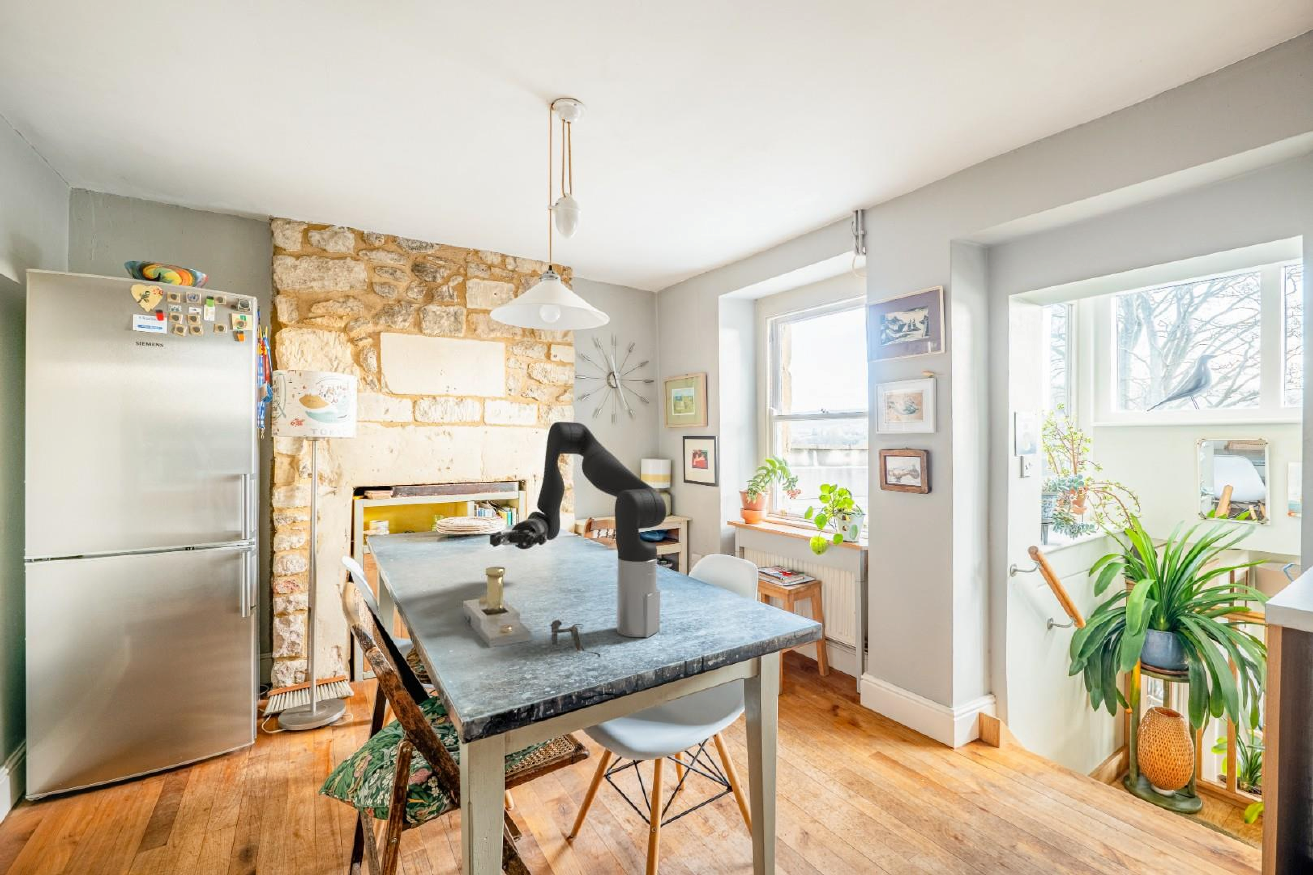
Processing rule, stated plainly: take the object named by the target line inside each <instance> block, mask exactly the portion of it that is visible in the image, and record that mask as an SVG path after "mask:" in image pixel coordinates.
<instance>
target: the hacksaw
mask: <svg viewBox="0 0 1313 875" xmlns="http://www.w3.org/2000/svg"><path fill="white" fill-rule="evenodd" d="M551 624H552V627H553V629H552V633H551V636H552V637H551V646H555V645H558V633H566V632H571V633H572V638H573V643H574V647H575V649H576V652H575V651H574V652H567V653H565V654H567V655H569V654H581V653H580V652H579V653H578V651H582V652H584V651H586V650H585V649H584V648H583V647H584V646H581V644H580V638H579V628H578V627H577V626H580V625H581V626H582V627H581V629H583V628H584V626H585V625H583V624H582V623H574V624H573V625H572V626H570V627H567V628H561V629H560V625H561V626H562V625H563V623H562V621H561V620H560V619H557V620H553V621H552V623H551ZM587 653H590V654H594V655H598V657H596V658H595V660H597V659H598V658H600V657H601V653H598V652H592V651H587Z"/></svg>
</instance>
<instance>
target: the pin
mask: <svg viewBox="0 0 1313 875" xmlns="http://www.w3.org/2000/svg"><path fill="white" fill-rule="evenodd" d="M505 574H506V568H505V566H490V567H485V576H486V577H487V582H486V585H487V588H486V597H487V616H488V615H495V614H501V613H503V600H504V575H505Z"/></svg>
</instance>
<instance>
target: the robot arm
mask: <svg viewBox="0 0 1313 875" xmlns="http://www.w3.org/2000/svg"><path fill="white" fill-rule="evenodd" d="M546 441H547V442H546V449H545V459H544V468H543V477H542V478H543V479H542V482H541V483H542V485H541V488H540V491H539V494H538V495H539V496H538V498H537V499H538V500H537V503H536V506H537V509H538V510H539V511H532V512H531V513H530V514H529V515H528V517H527V519H525V520H523V521H520V522H518V523H516V524H515V525H514V526H513V527H512V528H511V531H503V532H502V531H497V532H495V533H491V534H489V545H491V546H492V547H493V548H494V547H495V548H496V547H499V546H500V545H503V546H511V545H512V546H515V547H516V548H517V549H520V550H528V549H531V548H533V546H537V544H538V545H540V546H542V545H544V544H546V542H547V541H553V540H554V539H555V538H557V537H558V536H559V534H560V529H561V517H560V516H561V514H560V513H561V505H562V501H563V498H564V495H565V481H564V478H563V476H562V473H561V470H560V469H559V468H560V467H559V459H560V456H561V455H563V454H564V455H579V456H581V457H583V458H582V461H581V470H582V473H583V475H584V477H585V478H586V479H587V480H588V482H590V483H591V484H592V485H593V487H594V488H596V489H597V490H599V491H601V492H603V493H605V494H608V495H609V496H613V497H615V498H616V499H615V503H614V524H615V525H614V526H615V545H616V550H617V579H616V580H617V582H616V583H617V587H616V588H617V589H616V590H617V591H616V592H617V593H616V594H617V595H616V599H617V600H616V632H617V633H618V634H619V635H621V636H625V637H630V638H631V637H632V638H649V637H651V636H652V635H654V634H655V633H657V632H659V631H660V628H661V627H660V626H661V624H660V623H661V622H660V621H661V591H660V589H657V588H658V586H657V585H658V584H657V580H658V579H657V578H658V572H657V571H658V548H657V545H656V544H654V543H651V542H648V541H645V540H643V539H641V538H640V537H641V536H640V531H639V530H641V529H650V528H651V529H652V528H654V527H658V526H659V525H661V524H662V523H663V522H664V521H665V520H666V516H667V506H666V502H665V500H664V497H663V496H662V495H661V494H660V493H659V491H657V490H656V488H653V487H652V486H651V485H649V484H648V483H647V482H645V481H643V479H640V478H639V477H638V476H636V475H635V474H634V473H633V472H632V470H629V469H628V468H627V467H626V466H625V465H624V464H623V463H621V461H620V460H619V459H618V457H615V456H614V455H613V453H611V452H610V451H609V450H608V449H606V447H605V446H603V445H602V443H600V442H599V441H598V439H597V438H596V437H595V436H594V434H593V433H592V432H591V430H590V429H589V428H588V427H587V426H586V425H585V424H584V423H580V422H574V421H573V422H572V421H571V422H569V421H556V422H554V423H552V424H551V426H550V428H549V430H548V434H547V439H546Z"/></svg>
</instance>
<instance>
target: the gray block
mask: <svg viewBox="0 0 1313 875" xmlns="http://www.w3.org/2000/svg"><path fill="white" fill-rule="evenodd" d="M462 610H464V617H465V619H467V621H468V622H470V627H471V626H472V627H471V628H472V629H473V630H474V631H475V633H476V634H477V635H478V636H479V637H480V638H481V639H482V640H483V641H484V642H485V644H486V645H487V646H488V647H489V648H494V647H495V646H496V647H501V646H505V645H512V644H518V643H523V642H528V641H529V642H530V641H531V630H530V629H529V628H528V627H527V626H525V625H524V624H523V623H522V622H521V620H520V619H521V618H520V617H521V613H520V612H519V611H517V610H516V609H515V608H514V607H513V606H512V605H510V604H509V603H508V602H507V601H505V600H504V599H503V613H501V614H495V615H488V616H487V596H481V597H479V598H475V599H469V600H463V602H462ZM496 647H495V648H496Z"/></svg>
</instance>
